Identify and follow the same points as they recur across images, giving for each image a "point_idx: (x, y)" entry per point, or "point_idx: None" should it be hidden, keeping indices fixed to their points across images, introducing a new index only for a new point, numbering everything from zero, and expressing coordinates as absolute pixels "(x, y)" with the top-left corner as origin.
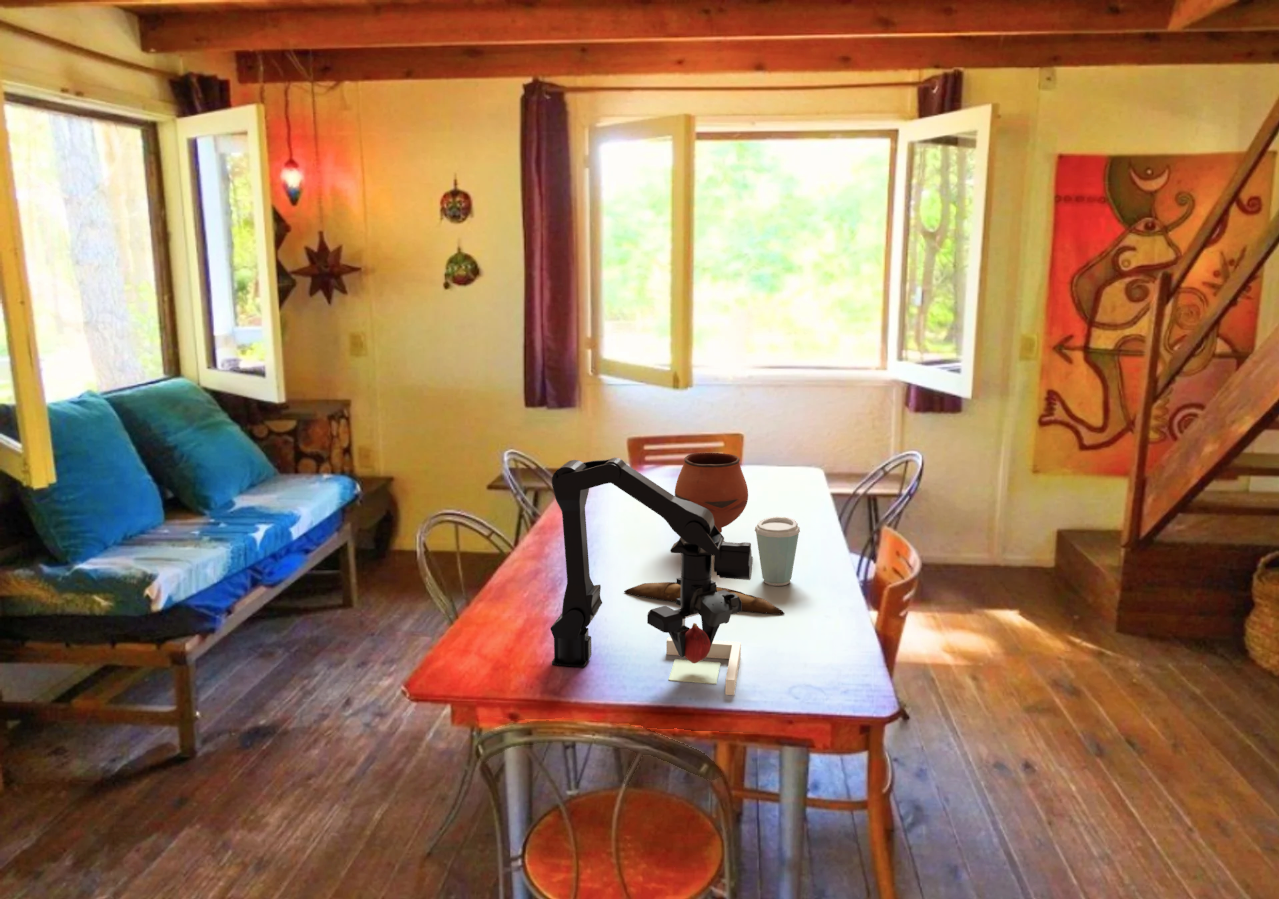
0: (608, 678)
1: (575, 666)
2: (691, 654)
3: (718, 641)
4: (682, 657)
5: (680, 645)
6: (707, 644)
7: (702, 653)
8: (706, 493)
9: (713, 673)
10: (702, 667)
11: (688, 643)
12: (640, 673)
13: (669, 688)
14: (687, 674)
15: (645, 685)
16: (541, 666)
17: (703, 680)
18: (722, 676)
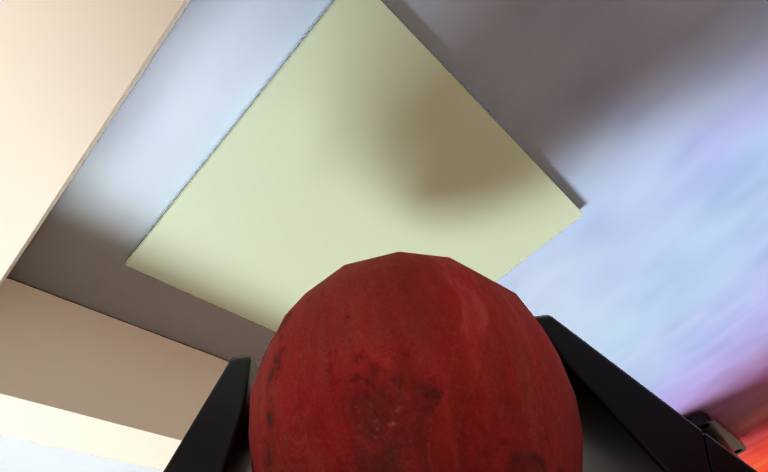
0: (729, 330)
1: (717, 421)
2: (525, 307)
3: (56, 440)
4: (543, 316)
5: (675, 417)
6: (363, 374)
7: (435, 280)
8: None
9: (272, 148)
10: (294, 254)
11: (581, 430)
12: (605, 321)
13: (664, 121)
14: (445, 217)
15: (707, 217)
16: (757, 442)
17: (416, 89)
18: (214, 81)
